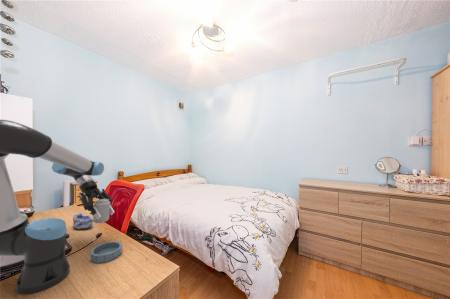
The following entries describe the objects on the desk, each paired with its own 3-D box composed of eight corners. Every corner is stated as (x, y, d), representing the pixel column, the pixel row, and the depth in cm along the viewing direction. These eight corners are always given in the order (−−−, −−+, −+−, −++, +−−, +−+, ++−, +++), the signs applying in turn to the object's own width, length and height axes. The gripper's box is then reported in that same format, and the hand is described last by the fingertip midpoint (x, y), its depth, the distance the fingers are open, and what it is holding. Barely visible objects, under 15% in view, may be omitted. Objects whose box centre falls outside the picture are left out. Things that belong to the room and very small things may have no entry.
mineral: (70, 214, 117) (88, 209, 125) (70, 227, 118) (87, 221, 126) (76, 222, 109) (95, 216, 117) (76, 236, 110) (95, 229, 118)
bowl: (115, 261, 83) (116, 254, 83) (84, 264, 80) (84, 257, 80) (125, 246, 96) (125, 240, 96) (98, 249, 93) (98, 242, 93)
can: (90, 221, 97) (91, 200, 97) (104, 217, 103) (105, 197, 104) (97, 224, 93) (99, 202, 94) (111, 220, 100) (113, 199, 100)
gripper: (100, 185, 113) (117, 214, 108) (63, 191, 93) (83, 226, 88) (106, 178, 111) (125, 206, 106) (71, 182, 92) (91, 217, 87)
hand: (106, 215), depth 97 cm, fingers closed on can, 7 cm apart
